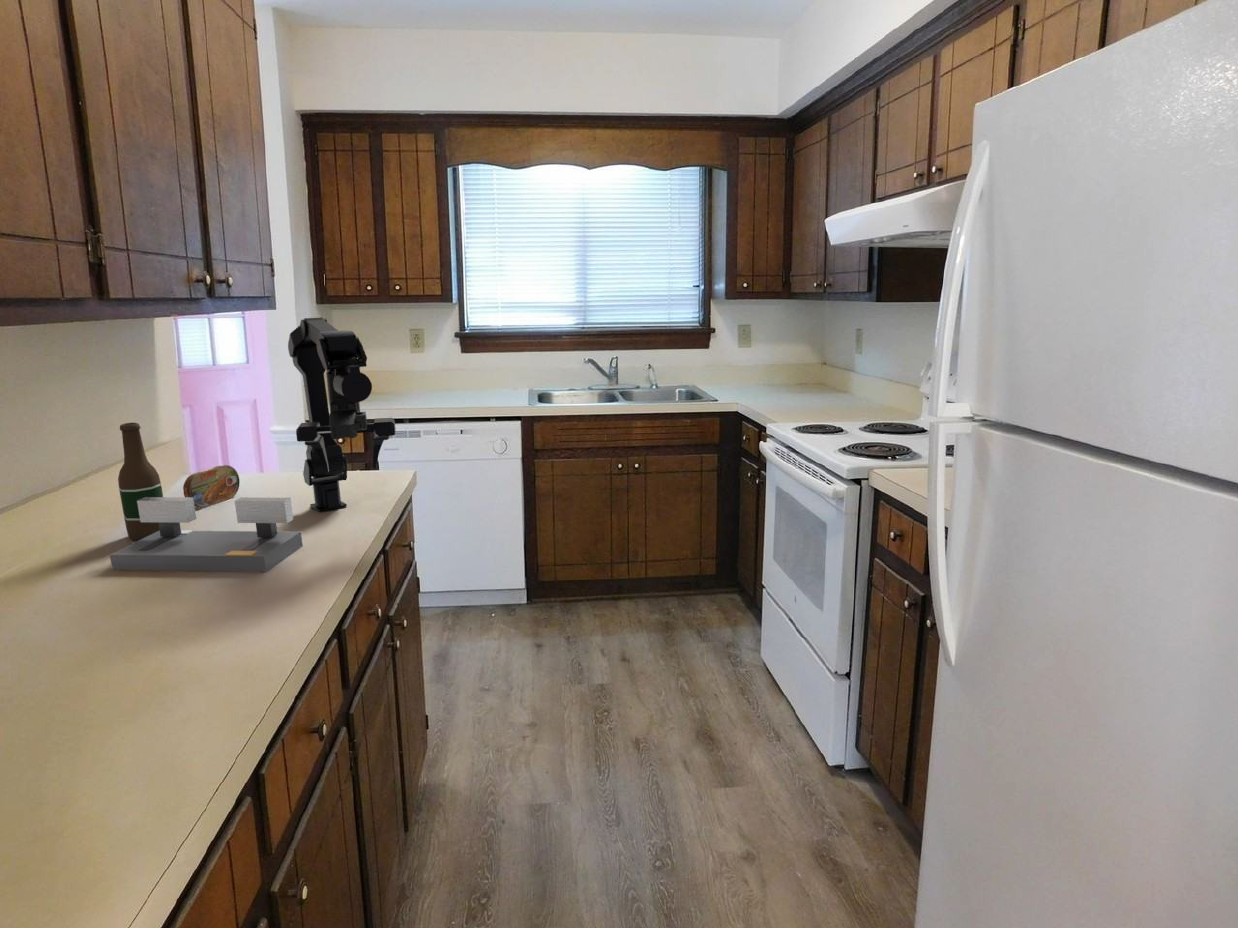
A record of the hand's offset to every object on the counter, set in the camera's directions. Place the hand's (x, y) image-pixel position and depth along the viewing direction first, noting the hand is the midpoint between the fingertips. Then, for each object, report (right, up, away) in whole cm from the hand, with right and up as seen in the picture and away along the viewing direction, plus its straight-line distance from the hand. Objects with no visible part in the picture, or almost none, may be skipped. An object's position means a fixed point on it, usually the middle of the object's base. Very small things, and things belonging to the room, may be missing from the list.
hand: (351, 470), depth 162 cm
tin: (-43, -8, +29) cm, 52 cm away
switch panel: (-24, -17, -10) cm, 31 cm away
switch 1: (-34, -13, -6) cm, 36 cm away
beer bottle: (-44, -14, +5) cm, 47 cm away
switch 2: (-14, -13, -8) cm, 20 cm away
